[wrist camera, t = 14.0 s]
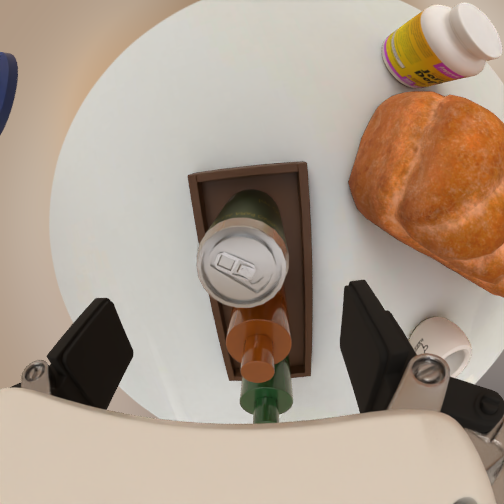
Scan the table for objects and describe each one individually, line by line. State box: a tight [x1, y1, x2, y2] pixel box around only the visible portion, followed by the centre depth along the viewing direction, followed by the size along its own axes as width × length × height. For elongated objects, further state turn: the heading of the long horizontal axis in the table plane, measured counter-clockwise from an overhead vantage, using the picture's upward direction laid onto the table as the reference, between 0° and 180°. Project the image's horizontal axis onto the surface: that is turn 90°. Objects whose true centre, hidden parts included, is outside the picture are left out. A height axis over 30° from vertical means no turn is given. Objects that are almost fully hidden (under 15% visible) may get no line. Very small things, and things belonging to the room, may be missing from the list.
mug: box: [409, 317, 472, 378], centre depth 28 cm, size 12×8×8 cm
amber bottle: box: [226, 282, 292, 383], centre depth 23 cm, size 5×5×12 cm
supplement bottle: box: [382, 2, 502, 88], centre depth 13 cm, size 7×7×13 cm
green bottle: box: [240, 354, 293, 424], centre depth 26 cm, size 5×5×12 cm
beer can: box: [197, 189, 289, 308], centre depth 20 cm, size 5×5×12 cm
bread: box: [348, 91, 504, 297], centre depth 17 cm, size 14×26×16 cm, turn 69°
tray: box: [188, 161, 312, 381], centre depth 28 cm, size 11×26×2 cm, turn 6°
